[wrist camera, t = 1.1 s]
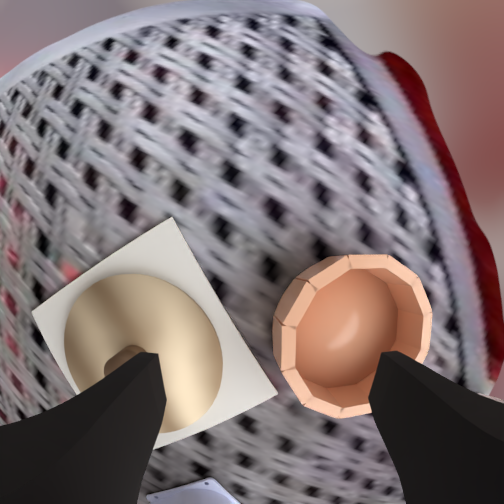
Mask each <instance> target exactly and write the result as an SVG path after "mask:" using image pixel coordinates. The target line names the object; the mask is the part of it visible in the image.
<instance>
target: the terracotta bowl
mask: <svg viewBox="0 0 504 504" xmlns="http://www.w3.org/2000/svg"><path fill="white" fill-rule="evenodd" d="M431 311H432V309H431V306H430V304H429V301H428V298H427V296H426V293H425V291H424V288H423V286H422V283H421V281H420V279H419V277H417V275H416V274H415V273H413V272H412V271H411V270H409V269H408V268H406V267H405V266H404V265H402V264H401V263H399V262H398V261H397V260H395V259H394V258H392V257H391V256H390V255H341V256H330V257H327V258H325V259H324V260H322V261H320V262H318V263H316V264H314V265H312V266H310V267H309V268H307V269H306V270H304V271H303V272H302V273H300V274H299V275H298V276H296V277H295V279H293V281H292V282H291V284H290V285H289V286H288V287H287V289H286V290H285V292H284V293H283V295H282V297H281V299H280V301H279V303H278V305H277V308H276V311H275V313H274V316H273V324H272V343H273V355H274V357H275V360H276V362H277V364H278V366H279V368H280V370H281V372H282V374H283V375H284V377H285V379H286V380H287V382H288V383H289V385H290V386H291V388H292V389H293V391H294V393H295V394H296V396H297V397H298V399H299V400H300V402H301V403H302V405H304V406H305V407H308V408H310V409H313V410H315V411H318V412H321V413H323V414H326V415H329V416H331V417H334V418H337V419H338V418H339V419H341V418H347V417H352V416H357V415H362V414H367V413H372V411H371V407H370V404H369V400H368V396H369V393H370V389H371V386H372V383H373V380H374V376H375V373H376V370H377V366H378V363H379V359H380V355H381V352H389V351H399V352H401V353H403V354H405V355H407V356H409V357H410V358H412V359H414V360H416V361H417V362H419V363H421V364H422V363H423V361H424V359H425V357H426V355H427V353H428V352H427V350H429V344H430V335H431V324H432V312H431Z"/></svg>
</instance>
